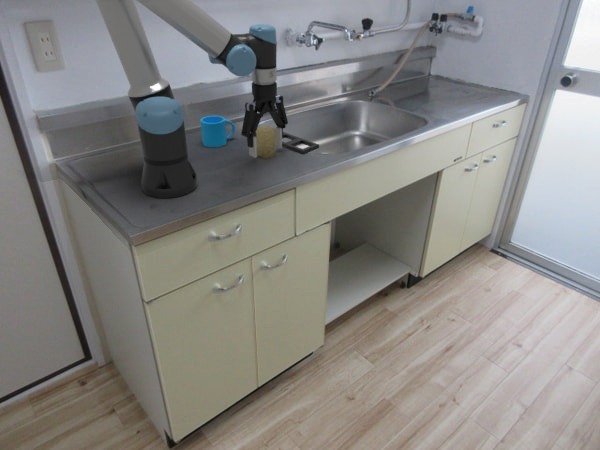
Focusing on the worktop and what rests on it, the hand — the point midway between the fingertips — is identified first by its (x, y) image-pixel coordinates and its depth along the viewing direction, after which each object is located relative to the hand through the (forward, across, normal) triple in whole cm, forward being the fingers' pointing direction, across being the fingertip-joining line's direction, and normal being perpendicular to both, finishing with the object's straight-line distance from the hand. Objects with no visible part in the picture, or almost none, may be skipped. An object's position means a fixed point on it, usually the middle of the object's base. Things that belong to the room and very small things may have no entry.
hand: (265, 151), depth 147 cm
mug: (+2, -3, +20) cm, 20 cm away
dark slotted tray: (+1, +13, +4) cm, 14 cm away
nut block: (+1, 0, 0) cm, 1 cm away
